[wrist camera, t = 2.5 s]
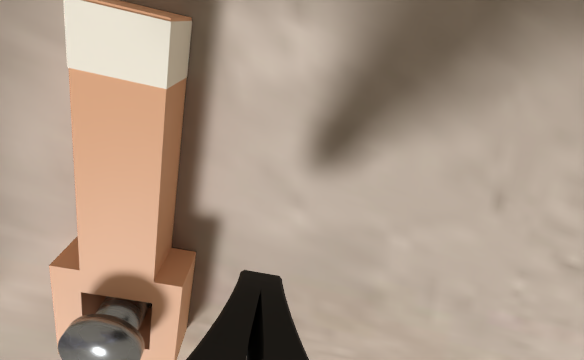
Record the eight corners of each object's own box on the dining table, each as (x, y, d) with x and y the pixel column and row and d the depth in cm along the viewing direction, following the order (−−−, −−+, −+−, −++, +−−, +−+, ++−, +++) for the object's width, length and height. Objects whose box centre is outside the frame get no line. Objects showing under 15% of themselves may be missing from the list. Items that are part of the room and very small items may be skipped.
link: (186, 329, 19) (173, 370, 17) (85, 314, 18) (57, 354, 16) (225, 25, 12) (211, 27, 10) (69, -12, 12) (19, -19, 10)
